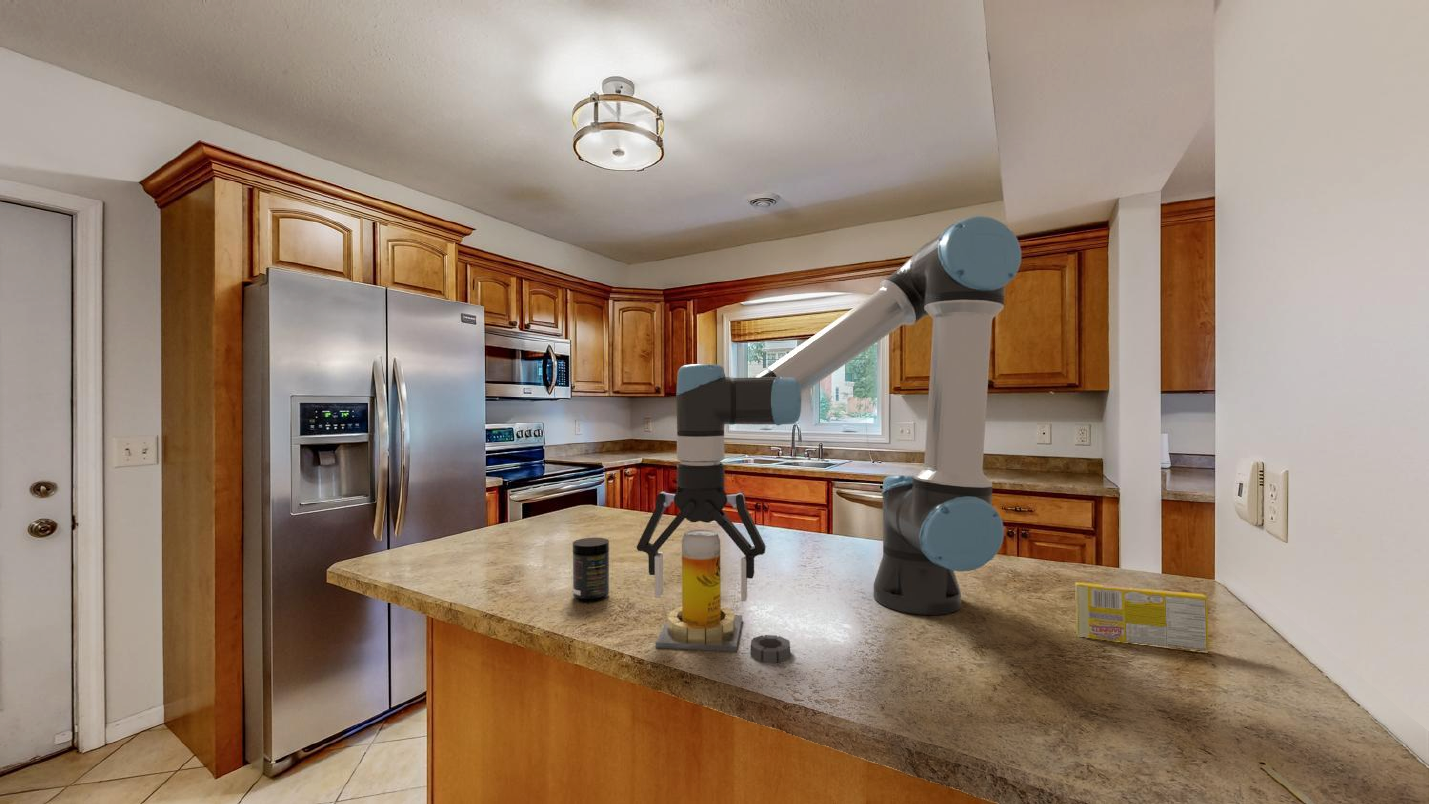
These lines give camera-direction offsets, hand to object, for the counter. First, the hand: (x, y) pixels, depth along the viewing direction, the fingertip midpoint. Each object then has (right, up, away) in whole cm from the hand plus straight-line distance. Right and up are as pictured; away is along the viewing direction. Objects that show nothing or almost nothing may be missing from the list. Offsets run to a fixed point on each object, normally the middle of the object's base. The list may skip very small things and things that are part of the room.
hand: (701, 597), depth 89 cm
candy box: (+66, -6, -4) cm, 66 cm away
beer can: (0, -5, 0) cm, 5 cm away
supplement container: (-21, -6, +17) cm, 28 cm away
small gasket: (+10, -6, -7) cm, 14 cm away
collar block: (0, -6, 0) cm, 6 cm away
